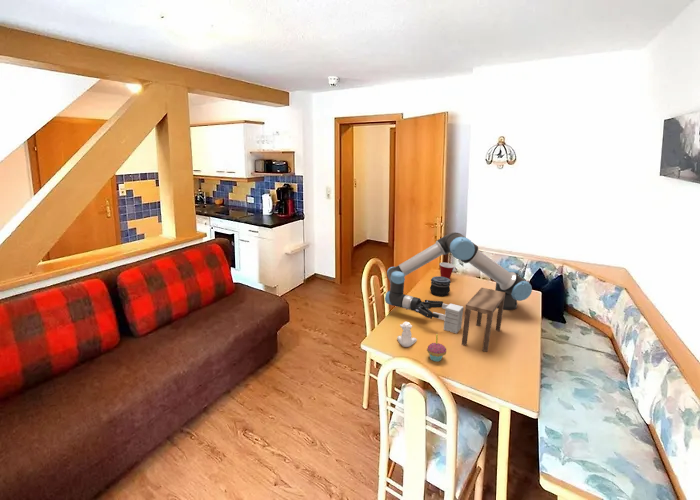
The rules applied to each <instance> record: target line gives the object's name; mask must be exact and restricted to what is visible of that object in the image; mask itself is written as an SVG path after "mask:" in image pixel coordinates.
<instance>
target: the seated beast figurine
mask: <svg viewBox="0 0 700 500" xmlns="http://www.w3.org/2000/svg"><path fill="white" fill-rule="evenodd" d="M399 327H400V328H401V329H402V330H403V331H402V332H401V335H398V336H397V337H396V340H397V341H398V343H399V344H400V345H401V347H404V348H410V347H411V346H413V345H415V343H416V342H417V341H418V339H417V338H416V337H412V335H413V334H412V331H411V329H412V328H413V325H412V324H411V323H410V322H409V321H404V322H403V323H400V324H399Z"/></svg>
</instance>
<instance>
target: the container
mask: <svg viewBox="0 0 700 500" xmlns="http://www.w3.org/2000/svg"><path fill="white" fill-rule="evenodd" d="M430 281H431V282H430V288H429V289H430V293H431V294H432V295H433V296H435V297H436V296H437V297H448V295H449V293H450V291H451V287H450V286H451V283H452V281H451V278H450V279H448V278H446V277H441V275H440V276H438V275H437V276H436V275H435V276H433V277H432V278H431V279H430Z"/></svg>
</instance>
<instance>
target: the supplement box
mask: <svg viewBox="0 0 700 500" xmlns="http://www.w3.org/2000/svg"><path fill="white" fill-rule="evenodd" d="M447 305H448V306H447V307H446V309H444V310H445V311H444V313H445V314H444V315H446V320H443V321H444V323H443V331H446V332H449V331H450V332H449V333H453V334H458V333H459V332H460V331H461V329H462V323H463V313H464V306H462V305H459V304H454V303H449V304H447Z"/></svg>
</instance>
